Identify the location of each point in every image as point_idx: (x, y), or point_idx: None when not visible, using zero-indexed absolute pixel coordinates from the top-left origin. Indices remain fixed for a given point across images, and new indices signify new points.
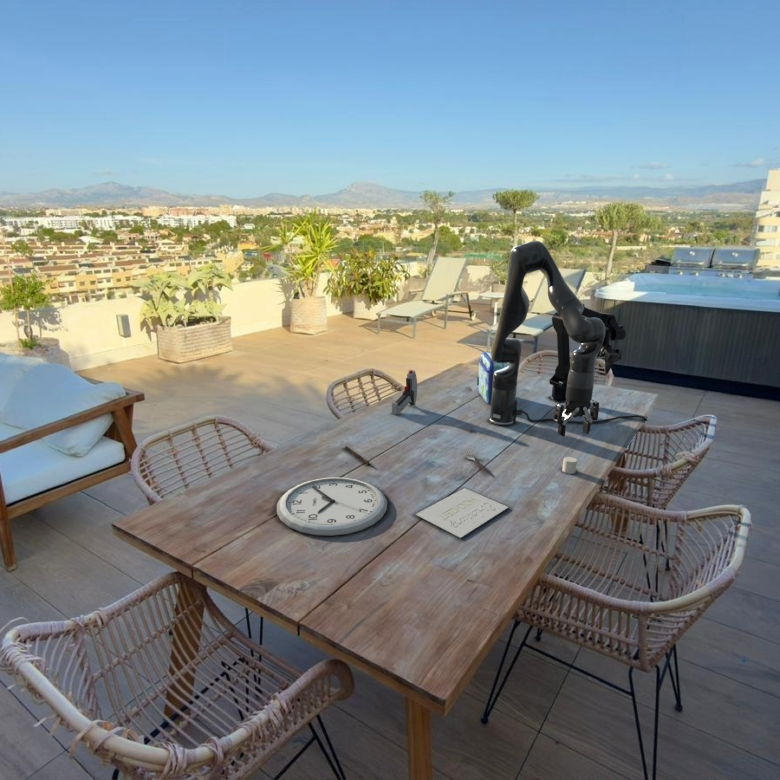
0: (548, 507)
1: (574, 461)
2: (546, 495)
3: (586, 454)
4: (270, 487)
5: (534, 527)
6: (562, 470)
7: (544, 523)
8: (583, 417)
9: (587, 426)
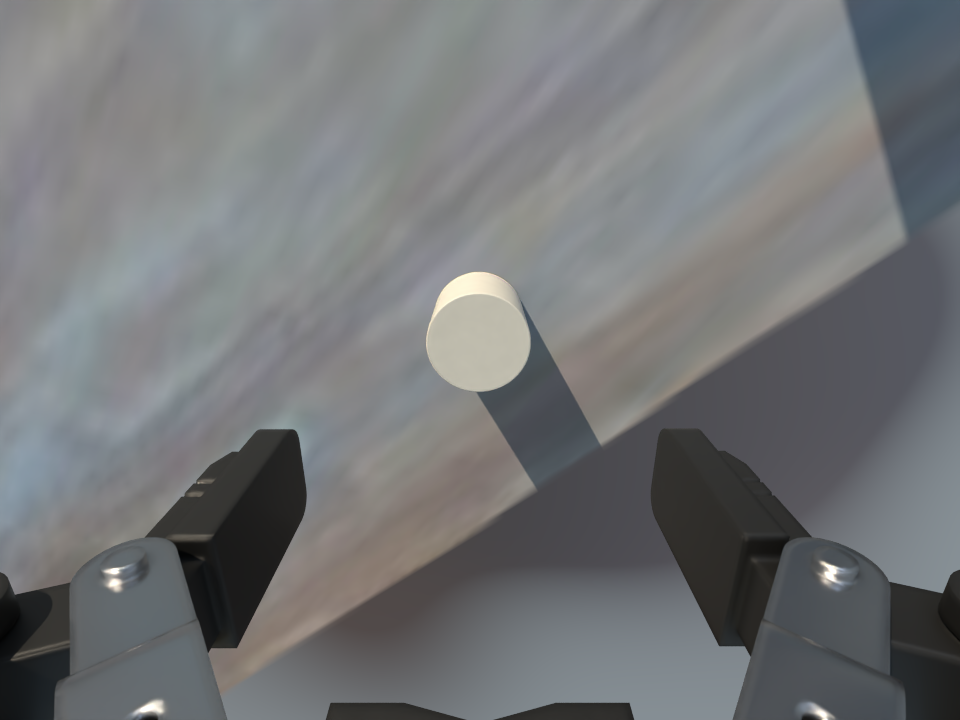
0: None
1: (486, 385)
2: None
3: (828, 75)
4: None
5: None
6: (437, 300)
7: None
8: (770, 595)
9: (694, 589)
